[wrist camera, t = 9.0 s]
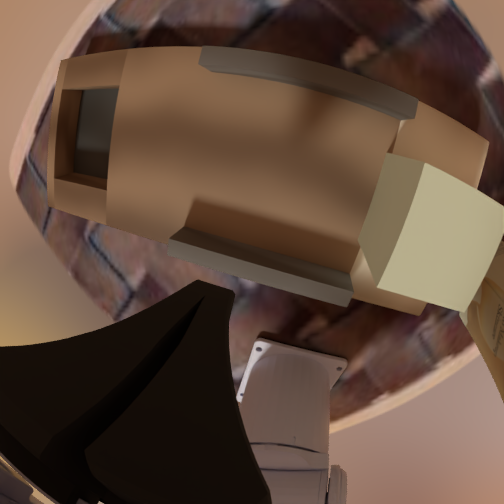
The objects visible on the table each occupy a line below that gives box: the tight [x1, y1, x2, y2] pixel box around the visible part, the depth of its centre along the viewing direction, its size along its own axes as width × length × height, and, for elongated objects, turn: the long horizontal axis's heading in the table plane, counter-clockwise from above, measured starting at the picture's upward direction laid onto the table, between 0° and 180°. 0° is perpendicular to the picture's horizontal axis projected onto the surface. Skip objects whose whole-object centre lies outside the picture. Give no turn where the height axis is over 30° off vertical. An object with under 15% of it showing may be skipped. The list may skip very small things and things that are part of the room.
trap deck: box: [47, 46, 489, 316], centre depth 14 cm, size 12×29×4 cm, turn 78°
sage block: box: [358, 153, 504, 312], centre depth 11 cm, size 5×5×5 cm
